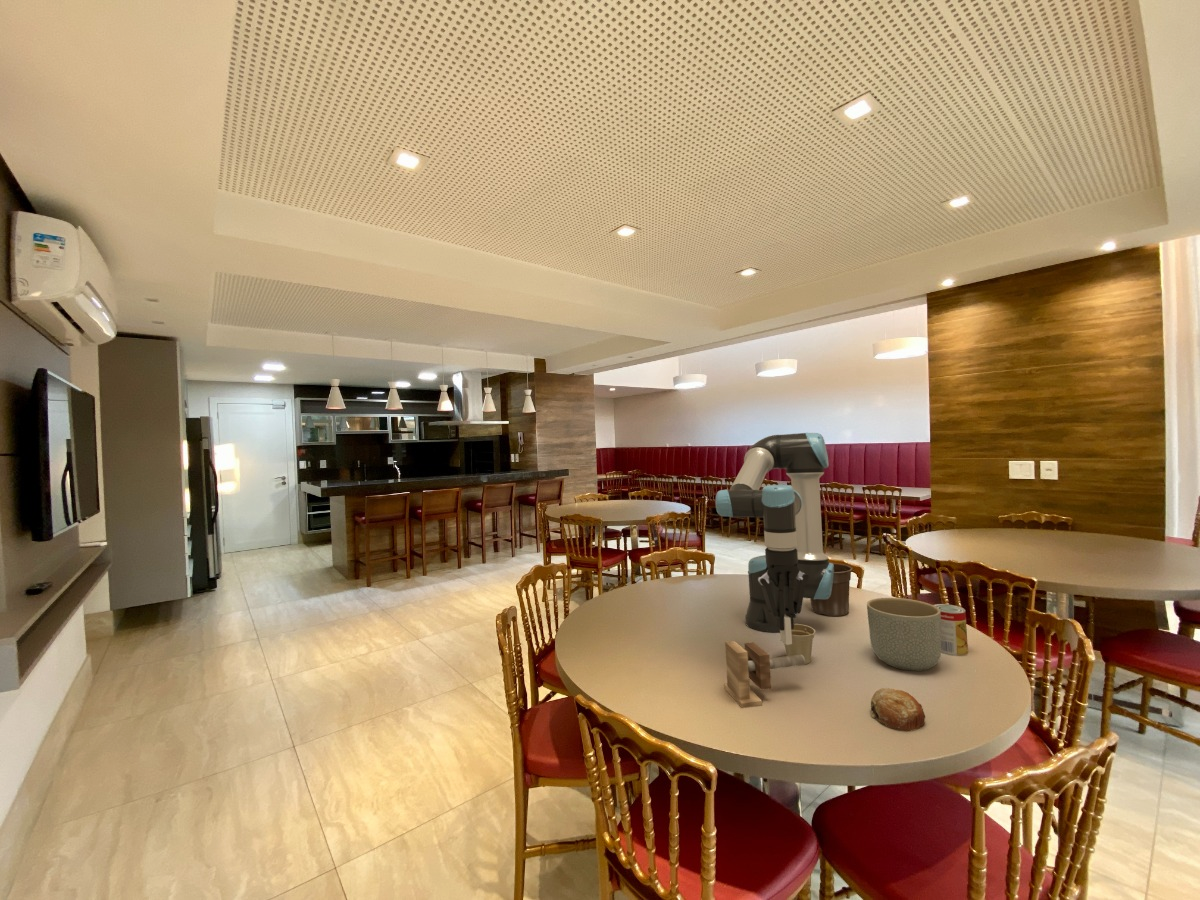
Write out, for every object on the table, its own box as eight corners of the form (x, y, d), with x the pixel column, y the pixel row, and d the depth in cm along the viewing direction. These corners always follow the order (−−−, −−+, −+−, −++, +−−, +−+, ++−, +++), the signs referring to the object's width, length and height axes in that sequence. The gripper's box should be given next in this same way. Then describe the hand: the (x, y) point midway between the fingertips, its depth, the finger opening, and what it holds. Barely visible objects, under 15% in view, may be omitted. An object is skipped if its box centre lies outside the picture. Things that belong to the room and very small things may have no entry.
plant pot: (797, 606, 181) (794, 563, 182) (837, 603, 183) (834, 560, 183) (821, 620, 165) (818, 573, 165) (865, 616, 167) (862, 570, 167)
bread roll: (869, 724, 109) (853, 693, 108) (906, 701, 109) (891, 670, 109) (900, 750, 99) (883, 716, 99) (941, 724, 100) (923, 691, 99)
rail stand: (792, 679, 124) (790, 632, 124) (816, 697, 114) (813, 647, 114) (724, 687, 121) (721, 640, 121) (741, 707, 111) (739, 655, 111)
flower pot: (801, 670, 129) (799, 638, 129) (773, 658, 137) (772, 627, 137) (824, 662, 133) (822, 630, 133) (796, 650, 141) (795, 621, 141)
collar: (755, 673, 121) (753, 642, 121) (771, 688, 113) (769, 654, 113) (745, 675, 121) (744, 643, 121) (761, 689, 113) (759, 655, 113)
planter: (880, 646, 142) (877, 594, 142) (949, 661, 130) (946, 604, 130) (861, 665, 130) (858, 608, 130) (936, 683, 118) (932, 621, 118)
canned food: (969, 649, 137) (967, 607, 137) (966, 658, 131) (963, 614, 131) (936, 642, 142) (934, 602, 142) (931, 651, 136) (929, 609, 137)
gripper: (796, 542, 124) (801, 633, 124) (749, 547, 122) (754, 639, 122) (813, 548, 116) (819, 645, 116) (763, 553, 114) (769, 651, 114)
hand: (786, 642), depth 119 cm, fingers closed
